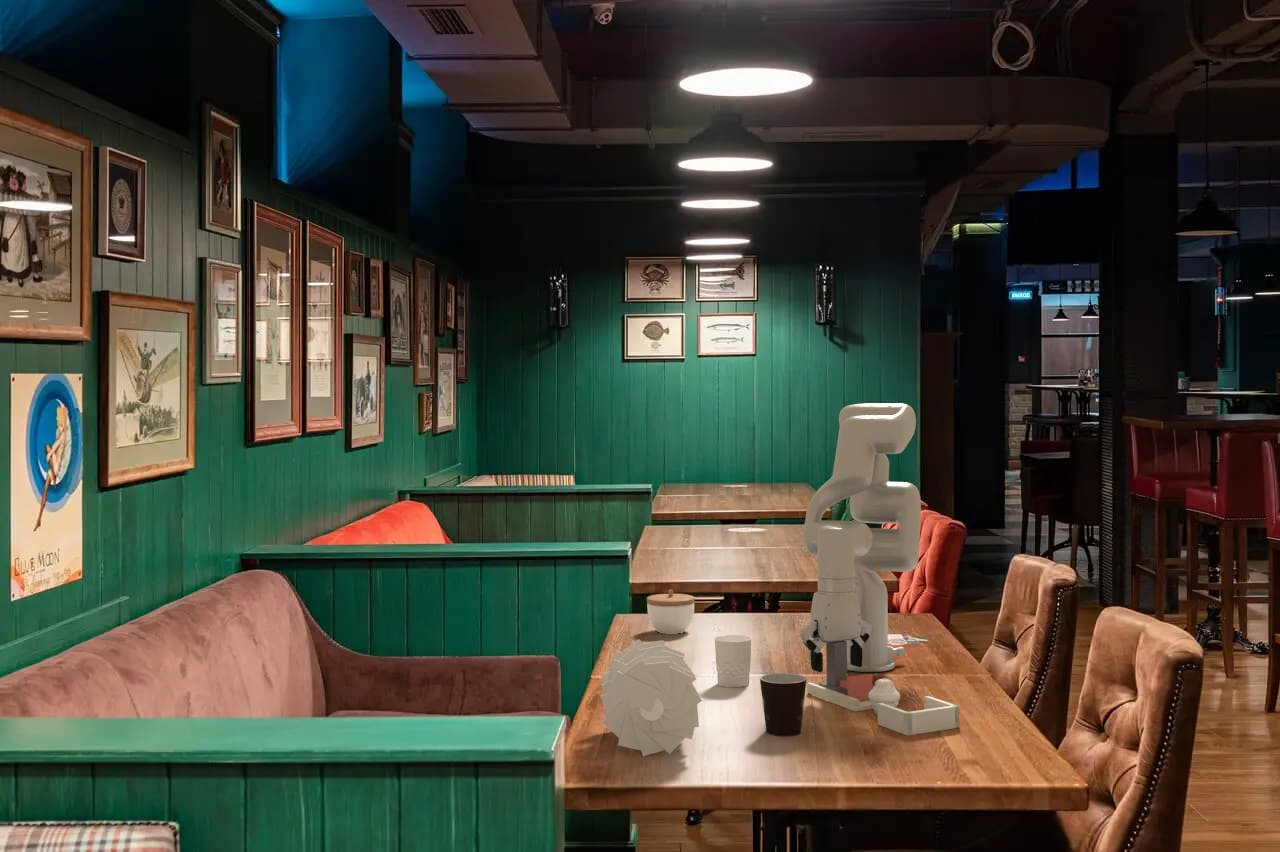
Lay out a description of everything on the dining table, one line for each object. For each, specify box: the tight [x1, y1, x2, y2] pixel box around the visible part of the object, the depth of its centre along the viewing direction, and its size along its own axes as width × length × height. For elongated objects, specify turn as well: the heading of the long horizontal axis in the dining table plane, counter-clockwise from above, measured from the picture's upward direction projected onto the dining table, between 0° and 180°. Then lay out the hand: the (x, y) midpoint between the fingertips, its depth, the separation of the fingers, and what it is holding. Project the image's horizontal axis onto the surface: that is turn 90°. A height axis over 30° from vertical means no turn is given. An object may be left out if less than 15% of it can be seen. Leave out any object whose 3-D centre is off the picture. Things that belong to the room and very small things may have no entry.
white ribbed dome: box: [868, 677, 901, 716], centre depth 251 cm, size 6×6×7 cm
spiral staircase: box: [600, 638, 703, 757], centre depth 233 cm, size 18×18×25 cm
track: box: [806, 682, 874, 713], centre depth 263 cm, size 8×17×2 cm, turn 26°
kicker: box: [818, 641, 873, 700], centre depth 263 cm, size 5×12×10 cm, turn 26°
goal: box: [877, 695, 960, 736], centre depth 242 cm, size 12×9×4 cm
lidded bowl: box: [646, 589, 696, 635], centre depth 339 cm, size 13×13×11 cm
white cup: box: [714, 634, 752, 688], centre depth 278 cm, size 8×8×10 cm
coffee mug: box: [759, 672, 808, 737], centre depth 240 cm, size 12×9×10 cm
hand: (836, 668), depth 266 cm, fingers open, 9 cm apart
